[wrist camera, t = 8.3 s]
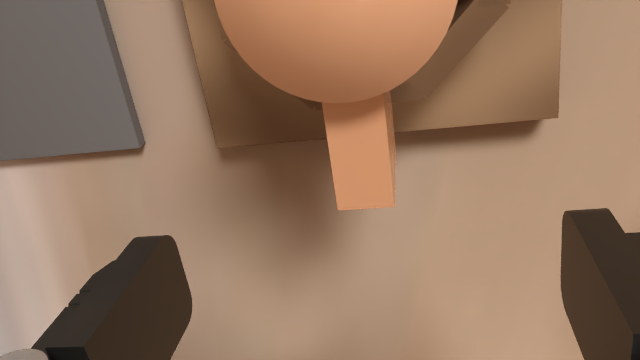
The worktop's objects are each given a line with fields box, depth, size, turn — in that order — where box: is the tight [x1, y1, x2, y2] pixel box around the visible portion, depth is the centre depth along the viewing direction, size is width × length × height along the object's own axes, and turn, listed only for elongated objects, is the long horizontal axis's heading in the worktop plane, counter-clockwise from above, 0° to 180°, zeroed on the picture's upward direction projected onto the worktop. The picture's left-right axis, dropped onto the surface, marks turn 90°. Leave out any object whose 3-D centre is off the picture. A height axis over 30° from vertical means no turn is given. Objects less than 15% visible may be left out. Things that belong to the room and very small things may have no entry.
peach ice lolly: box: [214, 0, 458, 210], centre depth 17 cm, size 9×6×9 cm, turn 8°
